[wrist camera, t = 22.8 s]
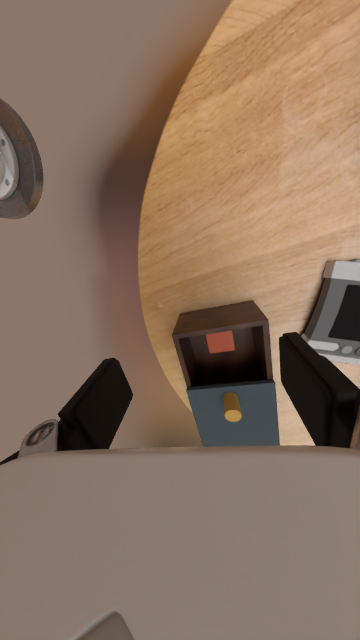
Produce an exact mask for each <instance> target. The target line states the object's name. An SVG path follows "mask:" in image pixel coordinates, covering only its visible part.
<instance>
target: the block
mask: <svg viewBox="0 0 360 640" xmlns="http://www.w3.org/2000/svg"><path fill="white" fill-rule="evenodd" d="M206 339H207V343H208V348H209V352H210V353H217V352H225V351H233V350H235V345H234V339H233V333H232V330H231V331H225V332H218V333H212V334H206Z"/></svg>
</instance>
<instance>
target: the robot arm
mask: <svg viewBox="0 0 360 640" xmlns="http://www.w3.org/2000/svg"><path fill="white" fill-rule="evenodd" d="M18 179H19V165H18V159H17V156H16V152H15V149H14V147H13V144H12V142H11V140H10V138H9V137H8V135H7V133H6V132H5V130H4V129H3V128H2V126H1V125H0V200H4V199H6V198H8V197H10V196H11V195H12V194H13V193H14V191H15V189H16V187H17V184H18ZM279 349H280V373H281V382H282V384H283V386H284V388H285V390H286V392H287V394H288V396H289V397H290V399H291V401H292V403H293V405H294V407H295V408H296V410H297V412H298V414H299V416H300V417H301V419H302V421H303V423H304V425H305V427H306V428H307V430H308V432H309V434H310V436H311V438H312V439H313V441H314V443H315V445H316V446H307V445H287V446H208V447H164V448H127V449H109V447H110V445H111V443H112V441H113V438H114V436H115V434H116V432H117V430H118V428H119V426H120V423H121V421H122V419H123V417H124V415H125V413H126V410H127V408H128V406H129V404H130V401H131V400H132V396H133V393H132V390H131V388H130V386H129V384H128V381H127V379H126V377H125V375H124V372H123V370H122V368H121V365H120V363H119V361H118V360H116V359H115V358H109V359H105V360H103V362H102V363H101V364H100V365H99V366H98V367H97V369H96V370H95V371H94V372H93V373H92V374H91V376H90V377H89V378H88V379H87V380H86V382H85V383H84V384H83V385H82V386H81V387H80V389H79V390H78V391H77V392H76V393H75V394H74V396H73V397H72V398H71V399H70V400H69V402H68V403H67V404H66V405H65V406H64V407H63V408H62V410H61V411H60V412H59V413H58V416H59V417H60V418H61V420H60V421H59V422H58V421H57V420H55V419H51V420H47V421H45V422H43V423H41V424H39V425H38V426H36V427H35V428H34V429H33V430H31V431H30V432H29V434H28V435H27V436H26V437H25V438H24V440H23V442H22V444H21V448H20V450H19V451H18V452H16V453H14V454H13V455H11V456H10V457H8V458H6V459H5V460H3V461H2V462H0V640H360V389H359V388H358V387H357V386H356V385H355V384H354V383H353V382H351V381H350V380H349V379H348V378H347V377H346V376H345V375H344V374H343V373H342V372H341V371H340V370H339V369H338V368H337V367H336V366H335V365H334V364H333V363H331V362H330V361H329V360H328V359H327V358H326V357H325V356H322V355H319V354H318V353H317V352H316V351H315V350H314V349H313V348H312V347H311V346H310V345H309V344H308V343H307V342H306V341H305V340H304V339H303V338H302V337H301V336H300V335H299V334H298V333H297V332H292V333H285V334H283V337H279Z"/></svg>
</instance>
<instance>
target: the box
mask: <svg viewBox="0 0 360 640" xmlns="http://www.w3.org/2000/svg"><path fill="white" fill-rule="evenodd" d="M231 330H232V333H233V339H234V345H235V350H233V351H225V352H217V353H210V352H209V348H208V343H207V339H206V334H212V333H218V332H225V331H231ZM172 337H173V340H174V344H175V347H176V351H177V354H178V357H179V361H180V364H181V368H182V371H183V374H184V378H185V381H186V385H187V387H196V386H207V385H218V384H229V383H240V382H251V381H262V380H273V373H272V360H271V347H270V335H269V323H268V319H267V318H266V316H265V315H264V314H263V312H262V311H261V310H260V309H259V307H258V306H257V305H256V304H255V302H254V301H253V300H252V301H247V302H241V303H236V304H230V305H225V306H220V307H214V308H209V309H204V310H198V311H193V312H188V313H182V314H180V316H179V319H178V321H177V324H176V326H175V329H174V331H173V334H172Z"/></svg>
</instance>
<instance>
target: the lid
mask: <svg viewBox="0 0 360 640" xmlns="http://www.w3.org/2000/svg"><path fill="white" fill-rule="evenodd" d="M186 391H187V394H188V398H189V401H190V404H191V408H192V411H193V414H194V417H195V421H196V424H197V428H198V431H199V434H200V438H201V441H202V444H203V447H208V446H280V443H279V429H278V415H277V402H276V388H275V382H274V380H262V381H251V382H240V383H229V384H218V385H207V386H196V387H187V390H186Z"/></svg>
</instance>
